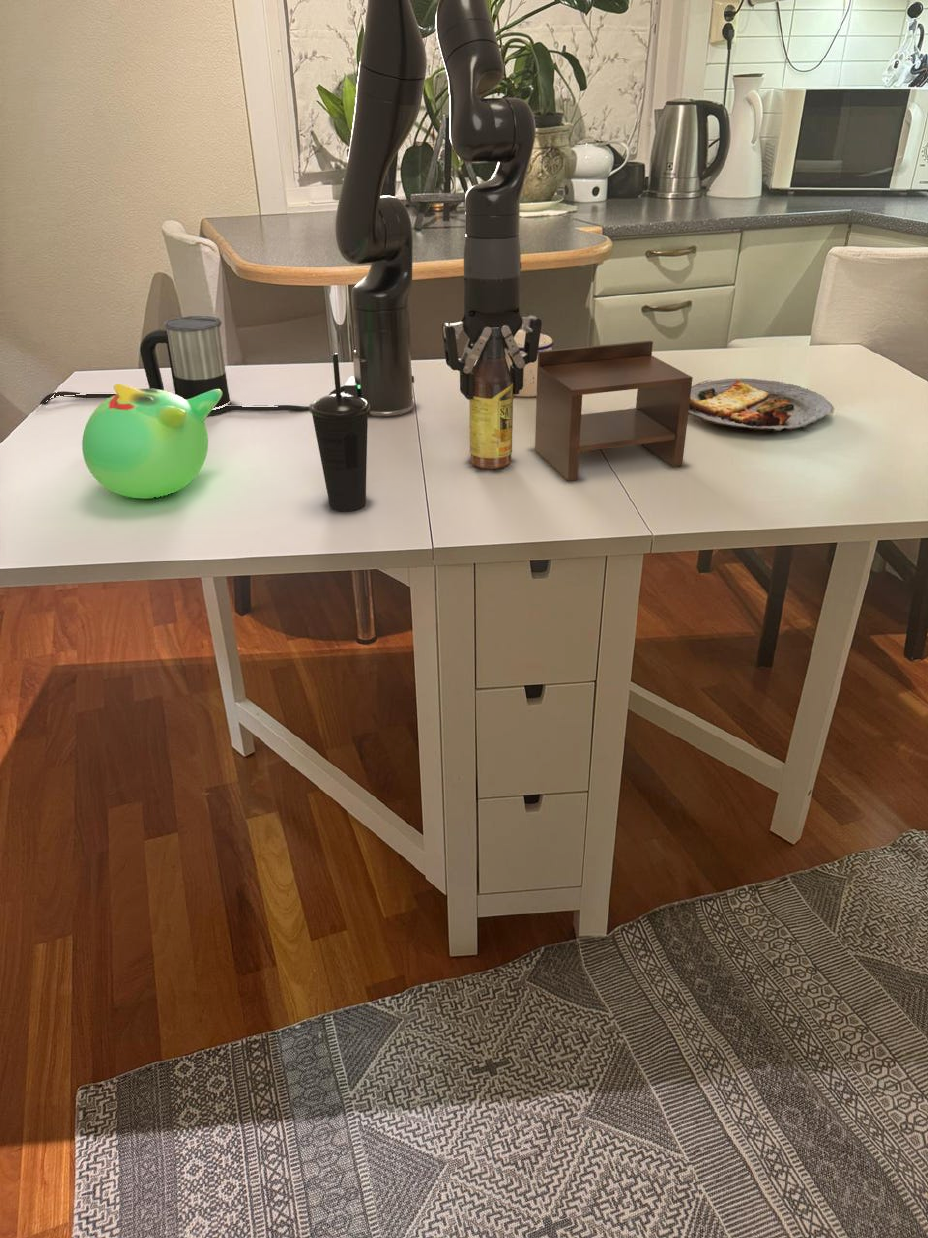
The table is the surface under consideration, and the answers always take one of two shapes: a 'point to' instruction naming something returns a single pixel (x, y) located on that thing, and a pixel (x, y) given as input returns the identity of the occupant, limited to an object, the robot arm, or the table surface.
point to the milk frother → (189, 358)
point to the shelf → (606, 371)
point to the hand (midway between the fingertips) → (491, 395)
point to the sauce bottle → (491, 407)
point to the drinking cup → (342, 445)
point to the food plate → (757, 404)
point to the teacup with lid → (530, 368)
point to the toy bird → (147, 440)
